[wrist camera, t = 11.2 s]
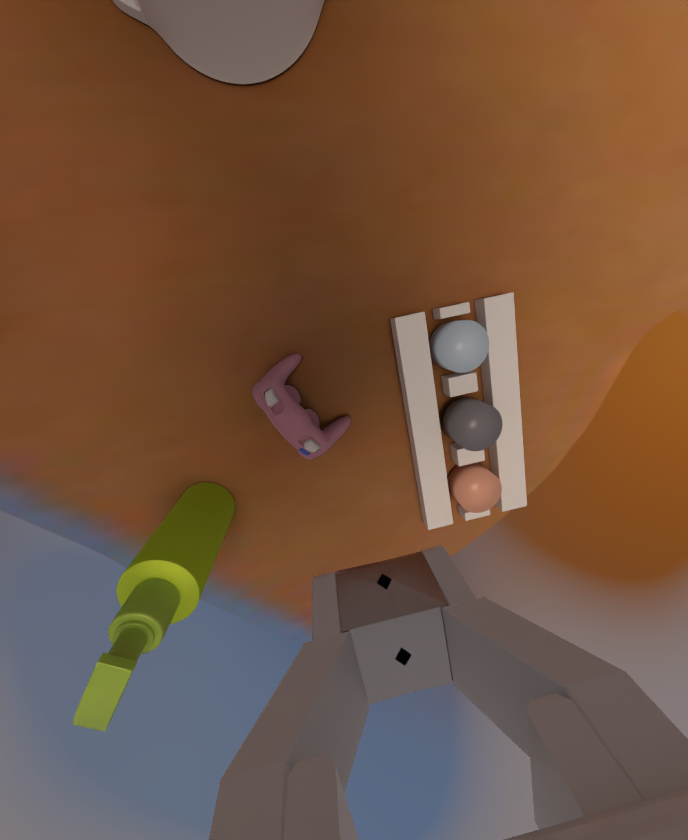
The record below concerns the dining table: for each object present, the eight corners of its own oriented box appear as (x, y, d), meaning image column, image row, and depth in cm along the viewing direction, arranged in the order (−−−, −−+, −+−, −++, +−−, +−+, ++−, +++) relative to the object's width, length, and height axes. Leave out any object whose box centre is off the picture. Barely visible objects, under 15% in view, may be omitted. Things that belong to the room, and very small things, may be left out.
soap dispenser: (169, 525, 38) (28, 726, 19) (192, 473, 37) (64, 632, 18) (219, 543, 39) (135, 749, 20) (243, 493, 38) (176, 663, 19)
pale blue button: (425, 326, 35) (436, 326, 32) (472, 316, 35) (486, 315, 32) (432, 373, 36) (442, 377, 33) (476, 363, 37) (491, 366, 34)
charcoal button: (440, 403, 36) (451, 409, 33) (485, 392, 36) (500, 398, 33) (445, 446, 37) (457, 456, 34) (489, 436, 38) (504, 445, 35)
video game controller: (269, 368, 36) (234, 397, 31) (298, 345, 34) (267, 373, 28) (326, 436, 39) (303, 475, 33) (356, 420, 37) (338, 459, 31)
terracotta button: (444, 466, 39) (455, 477, 36) (486, 456, 40) (500, 466, 37) (449, 504, 41) (460, 517, 38) (489, 494, 41) (503, 507, 38)
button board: (389, 318, 35) (394, 318, 33) (502, 294, 35) (513, 292, 33) (422, 520, 41) (428, 529, 39) (516, 497, 42) (526, 505, 40)
